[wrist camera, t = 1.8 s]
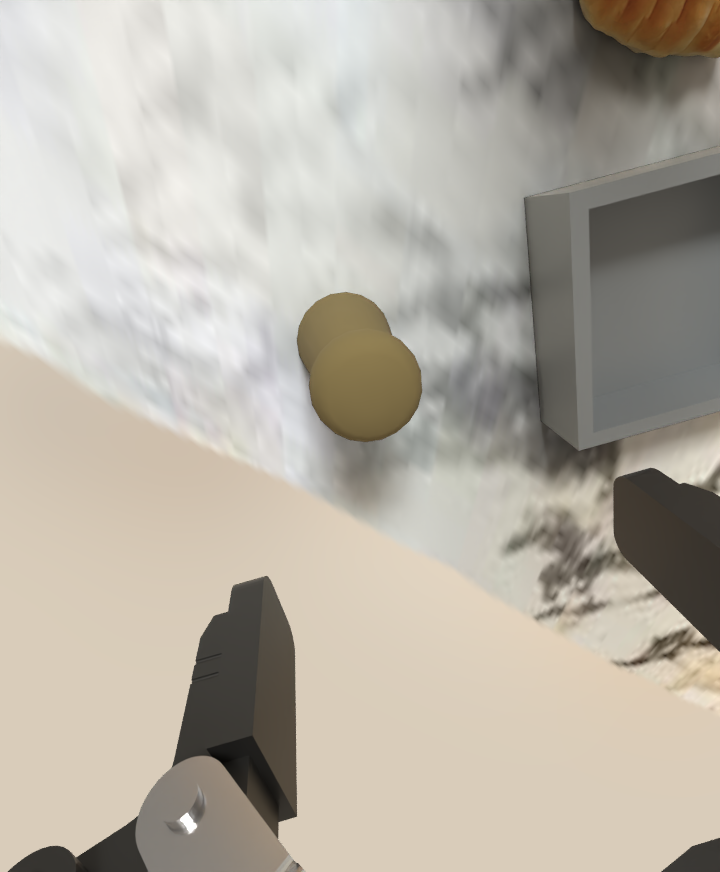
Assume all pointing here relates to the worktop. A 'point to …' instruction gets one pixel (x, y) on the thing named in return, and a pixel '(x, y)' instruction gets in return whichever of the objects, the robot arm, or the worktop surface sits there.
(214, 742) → the robot arm
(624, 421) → the bin
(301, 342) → the cork
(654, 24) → the pastry
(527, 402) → the worktop surface
